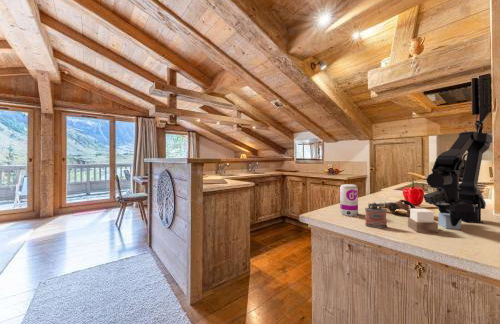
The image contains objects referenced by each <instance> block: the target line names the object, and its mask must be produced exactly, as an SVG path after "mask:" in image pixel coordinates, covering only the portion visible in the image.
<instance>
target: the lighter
mask: <svg viewBox="0 0 500 324" xmlns="http://www.w3.org/2000/svg"><path fill="white" fill-rule="evenodd" d="M384 207H386V205H385V203H384V202H383V203H382V202H374V201H373V202H372V203H369V202H368V203H367V207H364V210H365V224H364V225H365V227H368V228H377V229H387V228H388V225H387V212H388V210H387V209H388V208H387V209H386V208H384Z"/></svg>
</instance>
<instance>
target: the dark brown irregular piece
mask: <svg viewBox="0 0 500 324" xmlns="http://www.w3.org/2000/svg"><path fill="white" fill-rule="evenodd" d="M386 207H387V209H388V211H390V214H395V213H396V212H395V210H396V209H399V210H400V208H401V209H403V210H404V211H406V214H405V216H406V217H408V218H410V209H417V208H416V206H415V205H414V204H413V203H412V202H410V201H408V200H406V199H399V200H398V201H396V202H395V201H394V202H389V203H387V206H386Z"/></svg>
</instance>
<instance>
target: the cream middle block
mask: <svg viewBox="0 0 500 324" xmlns="http://www.w3.org/2000/svg"><path fill="white" fill-rule="evenodd" d="M409 210H410V216H409V218H411V219H413V220H414V221H416V222H431V223H434V222H435V220H434V219H435V217H434V216H435V215H434V214H435V212H434V211H432V210H429V209H427V208H416V209H411V208H409Z"/></svg>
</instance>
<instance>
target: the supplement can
mask: <svg viewBox="0 0 500 324" xmlns="http://www.w3.org/2000/svg"><path fill="white" fill-rule="evenodd" d="M358 195H359V188H358V186H357V185H356V184H354V183H353V184H351V183H347V184H345V183H343V184H341V185H340V187H339V202H340V203H339V205H340V207H339V208H340V209H339V210H340V211H339V212H340V214H341V216H342V215H343V216H346V217H356V216H358V214H359V196H358Z"/></svg>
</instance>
